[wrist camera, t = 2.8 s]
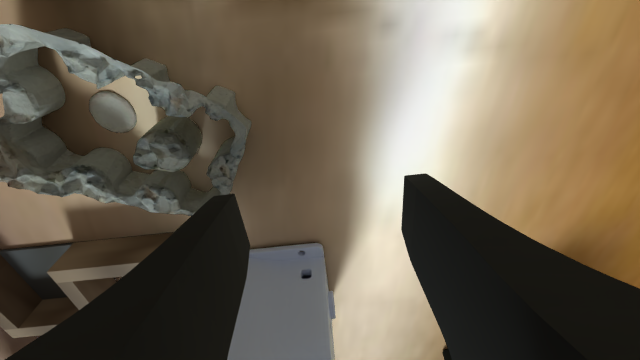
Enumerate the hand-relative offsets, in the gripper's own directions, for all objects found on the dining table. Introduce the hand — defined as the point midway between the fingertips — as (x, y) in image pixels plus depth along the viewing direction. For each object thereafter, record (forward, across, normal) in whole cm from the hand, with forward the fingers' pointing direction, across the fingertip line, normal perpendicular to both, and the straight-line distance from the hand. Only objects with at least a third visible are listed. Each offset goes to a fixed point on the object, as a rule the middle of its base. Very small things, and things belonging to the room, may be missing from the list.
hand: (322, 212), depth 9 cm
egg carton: (+9, +9, -1) cm, 13 cm away
